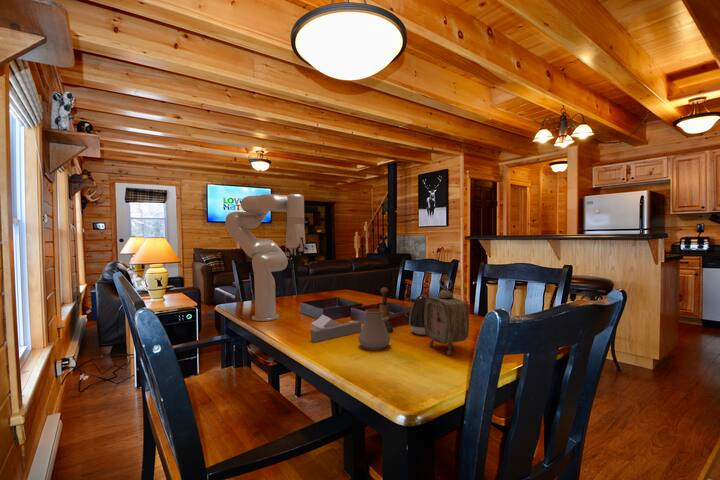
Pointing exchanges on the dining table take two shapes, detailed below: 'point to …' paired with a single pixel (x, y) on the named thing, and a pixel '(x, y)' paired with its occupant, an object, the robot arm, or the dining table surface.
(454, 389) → the dining table surface
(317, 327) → the wedge on round base
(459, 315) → the tabletop clock
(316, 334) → the bar
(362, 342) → the coffee pot
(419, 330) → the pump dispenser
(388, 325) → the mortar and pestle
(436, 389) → the dining table surface
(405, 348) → the dining table surface
